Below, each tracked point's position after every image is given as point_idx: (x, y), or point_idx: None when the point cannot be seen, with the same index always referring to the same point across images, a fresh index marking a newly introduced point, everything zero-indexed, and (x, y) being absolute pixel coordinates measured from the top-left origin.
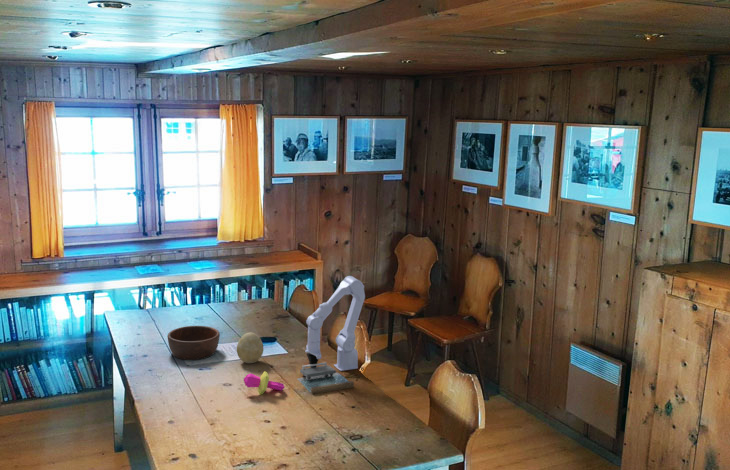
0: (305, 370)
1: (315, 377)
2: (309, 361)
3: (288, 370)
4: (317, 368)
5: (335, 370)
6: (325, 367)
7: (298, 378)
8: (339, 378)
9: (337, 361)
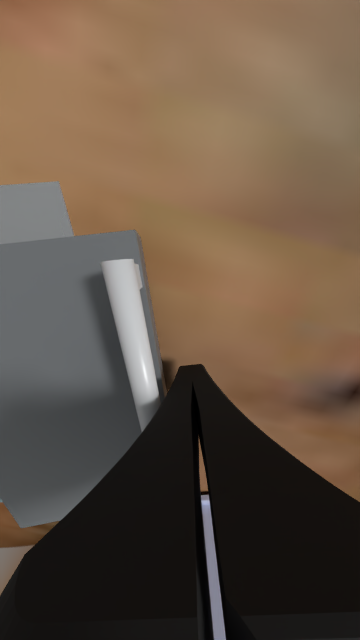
0: (59, 287)
1: None
2: (219, 407)
3: (298, 138)
4: (112, 419)
5: (21, 525)
6: None
7: (54, 200)
8: None
9: (215, 560)
